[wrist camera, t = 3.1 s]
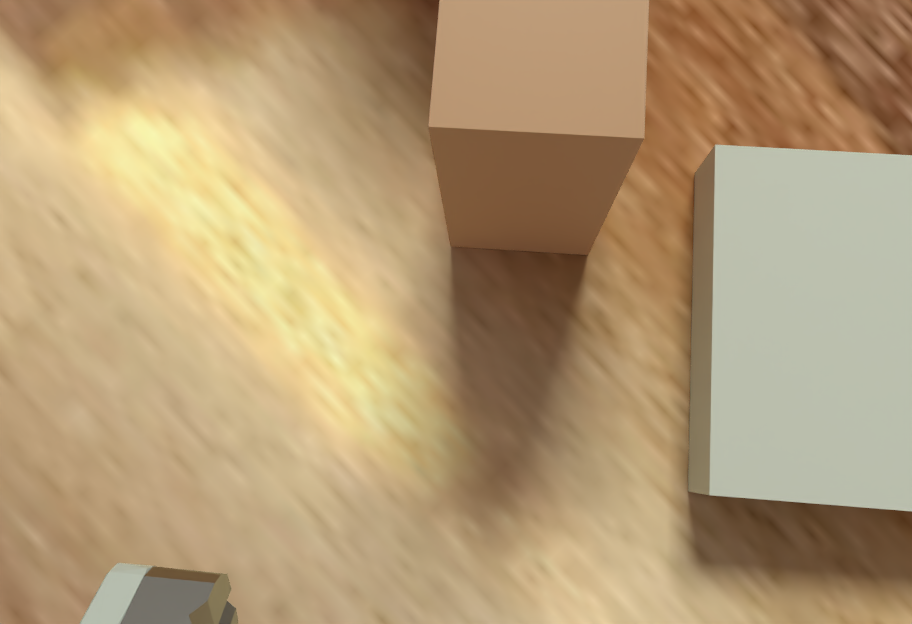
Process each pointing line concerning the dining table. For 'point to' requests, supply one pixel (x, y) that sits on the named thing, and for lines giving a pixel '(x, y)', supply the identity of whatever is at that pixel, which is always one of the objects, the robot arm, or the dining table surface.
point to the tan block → (536, 118)
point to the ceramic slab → (802, 327)
